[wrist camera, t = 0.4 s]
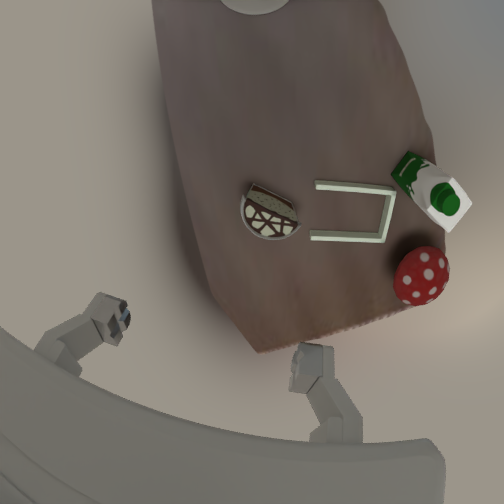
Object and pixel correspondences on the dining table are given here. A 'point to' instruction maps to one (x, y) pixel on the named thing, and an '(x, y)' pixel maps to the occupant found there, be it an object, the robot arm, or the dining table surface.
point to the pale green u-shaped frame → (357, 236)
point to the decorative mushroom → (421, 276)
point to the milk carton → (432, 190)
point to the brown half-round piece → (268, 214)
